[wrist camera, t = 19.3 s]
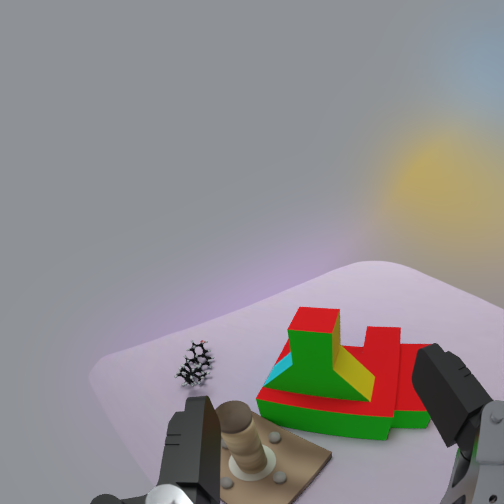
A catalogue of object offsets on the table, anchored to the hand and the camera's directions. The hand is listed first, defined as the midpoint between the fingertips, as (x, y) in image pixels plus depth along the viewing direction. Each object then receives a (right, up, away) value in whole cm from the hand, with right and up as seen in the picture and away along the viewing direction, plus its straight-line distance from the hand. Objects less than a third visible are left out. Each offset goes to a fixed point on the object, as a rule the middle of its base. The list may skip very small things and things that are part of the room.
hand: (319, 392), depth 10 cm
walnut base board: (-2, -24, +22) cm, 33 cm away
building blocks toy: (+14, -18, +32) cm, 40 cm away
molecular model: (-12, -18, +43) cm, 48 cm away
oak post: (-2, -23, +22) cm, 32 cm away
